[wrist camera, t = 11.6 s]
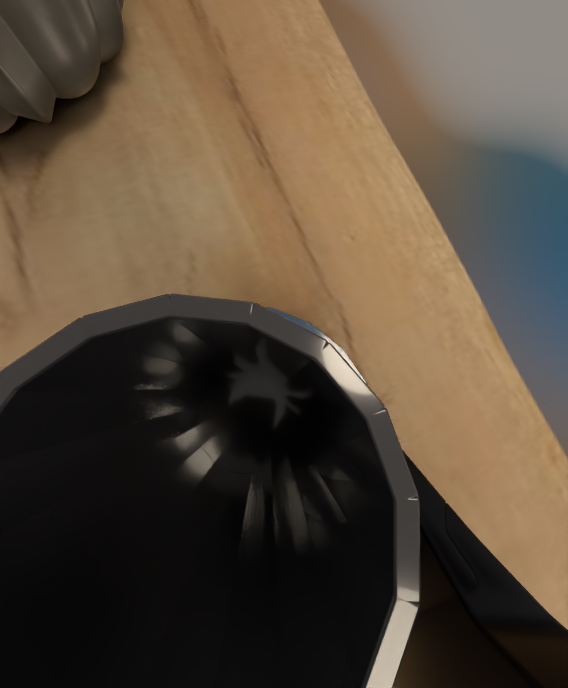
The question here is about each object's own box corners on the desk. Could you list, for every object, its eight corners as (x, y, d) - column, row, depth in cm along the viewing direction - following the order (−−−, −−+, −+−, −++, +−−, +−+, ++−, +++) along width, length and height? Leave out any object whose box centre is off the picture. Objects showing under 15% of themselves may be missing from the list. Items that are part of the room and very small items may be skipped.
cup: (315, 454, 15) (501, 714, 3) (209, 493, 15) (-91, 1038, 2) (283, 353, 16) (329, 250, 4) (182, 383, 16) (-126, 369, 3)
